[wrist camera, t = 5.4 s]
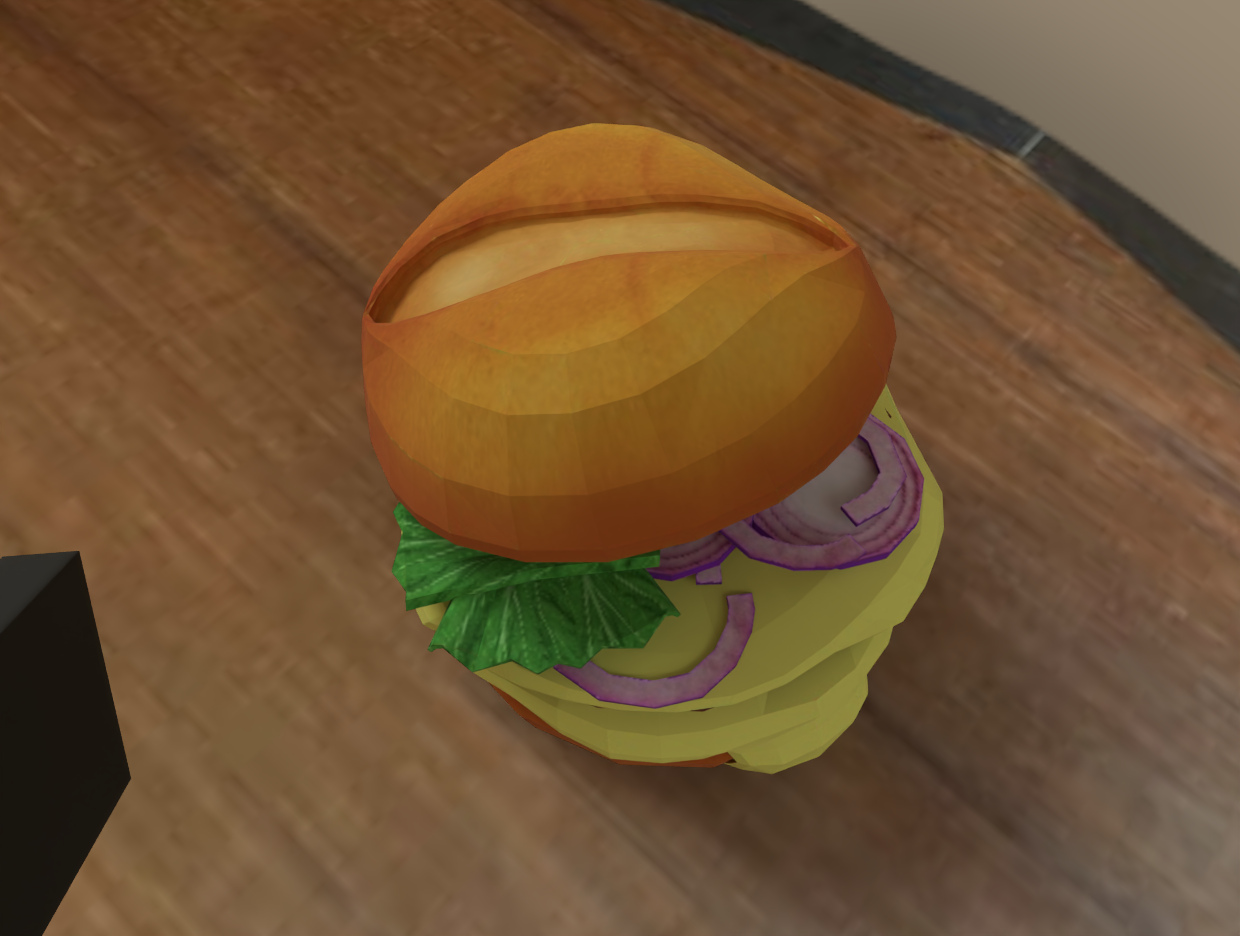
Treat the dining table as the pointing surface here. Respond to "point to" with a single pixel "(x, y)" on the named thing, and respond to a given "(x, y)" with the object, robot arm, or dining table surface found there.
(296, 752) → the dining table surface
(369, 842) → the dining table surface
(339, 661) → the dining table surface
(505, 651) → the cheeseburger
